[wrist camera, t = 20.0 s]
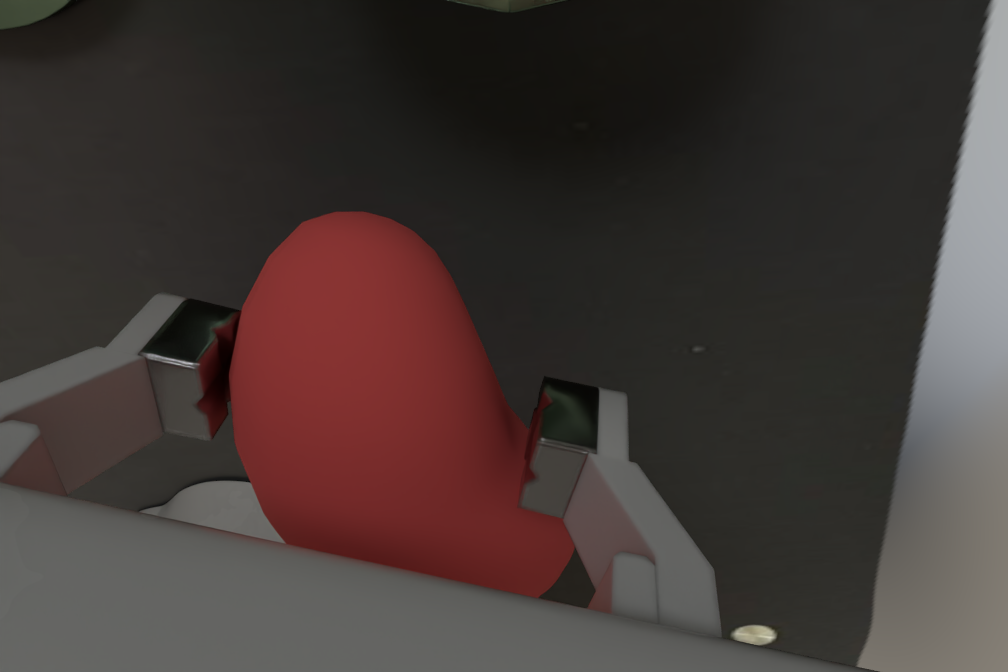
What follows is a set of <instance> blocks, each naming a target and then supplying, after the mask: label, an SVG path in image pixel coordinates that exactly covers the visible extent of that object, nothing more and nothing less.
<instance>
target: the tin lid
mask: <svg viewBox="0 0 1008 672" xmlns="http://www.w3.org/2000/svg"><path fill="white" fill-rule="evenodd" d="M75 1H76V0H0V29H11V28H17V27H23V26H28V25H31V24H33V23H36V22H38V21H41V20H44V19H46V18H49V17H51V16H54V15H56V14H58V13H59V12H61V11H63V10H64V9H66V8H67V7H69V6H70V5H72V4H73V3H74V2H75Z"/></svg>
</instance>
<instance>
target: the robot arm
mask: <svg viewBox="0 0 1008 672" xmlns="http://www.w3.org/2000/svg"><path fill="white" fill-rule="evenodd" d="M240 316H241V310H237V309H233V308H228V307H224V306H220V305H216V304H212V303H208V302H204V301H199V300H195V299H191V298H190V299H188V298H184V297H180V296H176V295H172V294H168V293H164V292H162V293H160V294H157V295H155V296H153V298H152V299H151V300H150V301H149V302H148V303H147V304H146V305H145V306H144V307H143V308H142V309H141V310H140V311H139V312H138V314H137V315H136V316H135V317H134V318H133V319H132V320H131V321H130V322H129V323H128V324H127V325H126V326H125V327H124V328H123V330H122V331H121V332H120V333H119V334H118V335H117V336H116V337H115V338H114V339H113V340H112V341H111V342H110V343H109V344H108V346H107V347H106V348H102V347H94V348H91V349H89V350H86V351H83V352H81V353H78V354H75V355H73V356H70V357H67V358H65V359H62V360H59V361H57V362H54V363H51V364H49V365H46V366H43V367H41V368H38V369H35V370H33V371H30V372H28V373H25V374H22V375H20V376H17V377H14V378H12V379H9V380H6V381H4V382H1V383H0V672H878V671H874V670H869V669H864V668H860V667H855V666H850V665H846V664H841V663H837V662H832V661H827V660H823V659H818V658H813V657H809V656H804V655H800V654H795V653H790V652H786V651H781V650H776V649H772V648H767V647H763V646H758V645H753V644H749V643H744V642H739V641H735V640H730V639H726V638H722V631H721V623H720V615H719V607H718V599H717V590H716V582H715V574H714V569H713V568H712V566H711V565H710V563H709V562H708V561H707V559H706V558H705V557H704V555H703V554H702V552H701V551H700V550H699V548H698V547H697V546H696V544H695V543H694V541H693V540H692V539H691V537H690V536H689V534H688V533H687V532H686V530H685V529H684V528H683V526H682V525H681V523H680V522H679V521H678V519H677V518H676V517H675V515H674V514H673V512H672V511H671V510H670V508H669V507H668V506H667V504H666V503H665V501H664V500H663V499H662V497H661V496H660V494H659V493H658V492H657V490H656V489H655V488H654V486H653V485H652V483H651V482H650V481H649V479H648V478H647V477H646V475H645V474H644V472H643V471H642V470H641V468H640V467H639V466H638V464H637V463H633V462H629V439H628V397H627V395H626V393H625V392H620V391H615V390H610V389H605V388H600V387H598V388H597V387H594V386H589V385H584V384H579V383H574V382H570V381H565V380H560V379H555V378H550V377H546V376H544V378H543V381H542V384H541V387H540V391H539V397H538V404H537V407H536V408H535V409H534V412H533V416H532V420H531V424H530V428H529V432H528V437H527V442H526V449H525V455H524V459H525V460H526V462H525V466H524V470H523V473H522V477H521V483H520V491H519V498H518V506H517V508H521V509H526V510H530V511H534V512H538V513H542V514H546V515H550V516H554V517H558V518H563V523H564V525H565V527H566V529H567V531H568V533H569V535H570V537H571V539H572V541H573V544H574V546H575V548H576V550H577V552H578V554H579V556H580V558H581V560H582V563H583V565H584V567H585V569H586V571H587V573H588V575H589V577H590V579H591V582H592V584H593V586H594V588H595V590H596V592H595V594H594V596H593V598H592V600H591V602H590V604H589V606H588V608H582V607H577V606H573V605H568V604H563V603H559V602H554V601H550V600H545V599H540V598H536V597H531V596H526V595H522V594H517V593H513V592H508V591H503V590H499V589H494V588H489V587H485V586H480V585H475V584H471V583H466V582H461V581H457V580H452V579H447V578H443V577H438V576H433V575H429V574H424V573H419V572H415V571H410V570H405V569H401V568H396V567H391V566H387V565H382V564H378V563H373V562H368V561H364V560H359V559H354V558H350V557H345V556H340V555H336V554H331V553H326V552H322V551H317V550H313V549H308V548H303V547H299V546H294V545H289V544H286V543H285V542H284V540H283V539H282V538H281V537H280V536H279V534H278V533H277V532H276V530H275V529H274V528H273V526H272V525H271V524H270V522H269V521H268V519H267V518H266V516H265V514H264V513H263V511H262V508H261V506H260V504H259V501H258V499H257V496H256V494H255V492H254V489H253V487H252V484H251V483H249V482H241V481H211V482H204V483H199V484H196V485H193V486H190V487H188V488H185V489H183V490H182V491H180V492H179V493H177V494H176V495H175V496H174V497H173V498H172V499H171V500H170V501H169V502H168V503H166V504H164V505H163V506H158V507H153V508H148V509H144V510H141V511H139V512H137V511H132V510H127V509H123V508H118V507H113V506H109V505H104V504H100V503H95V502H90V501H86V500H81V499H76V498H72V497H68V495H67V494H69V493H70V492H72V491H74V490H75V489H77V488H78V487H80V486H82V485H83V484H85V483H86V482H88V481H90V480H91V479H93V478H95V477H96V476H98V475H99V474H101V473H103V472H104V471H106V470H107V469H109V468H111V467H112V466H114V465H116V464H117V463H119V462H120V461H122V460H124V459H125V458H127V457H128V456H130V455H132V454H133V453H135V452H136V451H138V450H140V449H141V448H143V447H145V446H146V445H148V444H149V443H151V442H153V441H154V440H156V439H157V438H159V437H161V436H162V435H163V432H164V433H170V434H175V435H180V436H186V437H191V438H196V439H202V440H207V441H212V439H213V437H214V436H215V434H216V433H217V431H218V430H219V428H220V426H221V425H222V423H223V422H224V420H225V419H226V417H227V415H228V408H227V402H229V401H231V396H230V384H229V370H230V365H231V360H232V356H233V351H234V346H235V341H236V336H237V331H238V326H239V321H240Z"/></svg>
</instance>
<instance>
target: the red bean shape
mask: <svg viewBox="0 0 1008 672" xmlns="http://www.w3.org/2000/svg"><path fill="white" fill-rule="evenodd" d="M229 384H230V396H231V407H232V419H233V430H234V441H235V444H236V448H237V451H238V453H239V456H240V458H241V460H242V463H243V465H244V468H245V470H246V472H247V475H248V477H249V480H250V482H251V484H252V487H253V489H254V492H255V494H256V496H257V499H258V501H259V504H260V506H261V508H262V511H263V513H264V514H265V516H266V518H267V519H268V521H269V522H270V524H271V525H272V526H273V528H274V529H275V530H276V532H277V533H278V534H279V536H280V537H281V538H282V539H283V540H284V542H285V543H286V544H289V545H294V546H299V547H303V548H308V549H313V550H317V551H322V552H326V553H331V554H336V555H340V556H345V557H350V558H354V559H359V560H364V561H368V562H373V563H378V564H382V565H387V566H391V567H396V568H401V569H405V570H410V571H415V572H419V573H424V574H429V575H433V576H438V577H443V578H447V579H452V580H457V581H461V582H466V583H471V584H475V585H480V586H485V587H489V588H494V589H499V590H503V591H508V592H513V593H517V594H522V595H526V596H531V597H536V598H538V597H539V596H540V595H542V594H543V593H544V592H546V591H547V590H548V589H550V588H551V586H552V585H553V584H554V583H555V582H556V581H557V579H558V578H559V576H560V575H561V573H562V571H563V570H564V568H565V567H566V565H567V563H568V562H569V560H570V558H571V556H572V554H573V551H574V548H575V546H574V544H573V541H572V539H571V537H570V535H569V533H568V531H567V529H566V527H565V525H564V523H563V518H558V517H554V516H550V515H546V514H542V513H538V512H534V511H530V510H526V509H521V508H517V506H518V498H519V491H520V483H521V477H522V473H523V470H524V466H525V462H526V460H525V459H524V455H525V449H526V442H527V437H528V432H529V430H528V429H527V427H526V426H525V425H524V424H523V422H522V421H521V420H520V419H519V417H518V416H517V415H516V414H515V413H514V411H513V410H512V409H511V408H510V407H509V405H508V404H507V402H506V400H505V397H504V395H503V393H502V390H501V388H500V385H499V383H498V380H497V378H496V375H495V373H494V370H493V368H492V366H491V364H490V361H489V359H488V357H487V354H486V352H485V350H484V347H483V345H482V343H481V341H480V338H479V336H478V334H477V331H476V329H475V327H474V325H473V322H472V320H471V318H470V315H469V313H468V311H467V308H466V306H465V304H464V302H463V300H462V298H461V296H460V293H459V291H458V289H457V287H456V285H455V283H454V281H453V279H452V277H451V275H450V274H449V272H448V270H447V269H446V267H445V266H444V264H443V263H442V261H441V260H440V258H439V257H438V255H437V253H436V252H435V251H434V250H433V249H432V248H431V247H430V246H429V245H428V244H427V243H426V242H425V241H424V240H423V239H422V238H421V237H420V236H418V235H417V234H416V233H415V232H414V231H413V230H411V229H409V228H407V227H405V226H403V225H401V224H400V223H398V222H396V221H394V220H392V219H390V218H386V217H383V216H379V215H375V214H371V213H368V212H332V213H329V214H326V215H323V216H320V217H317V218H314V219H310V220H307V221H304V222H302V223H301V224H300V225H299V226H298V227H297V228H296V229H295V230H294V231H293V232H292V233H291V234H290V235H289V236H288V237H287V238H286V239H285V240H284V241H283V242H282V244H281V245H280V246H279V247H278V248H277V249H276V250H275V251H274V252H273V253H272V254H271V255H270V256H269V257H268V259H267V261H266V263H265V265H264V267H263V269H262V270H261V272H260V274H259V276H258V278H257V280H256V282H255V284H254V286H253V288H252V289H251V291H250V293H249V295H248V297H247V299H246V301H245V303H244V305H243V307H242V311H241V316H240V321H239V326H238V331H237V336H236V341H235V346H234V351H233V356H232V360H231V365H230V370H229Z"/></svg>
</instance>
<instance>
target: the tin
mask: <svg viewBox="0 0 1008 672" xmlns="http://www.w3.org/2000/svg"><path fill="white" fill-rule="evenodd" d="M446 1H450V2H455V3H460V4H465V5H470V6H474V7H479V8H484V9H489V10H494V11H498V12H503V13H509V12H511V13H516V12H520V11H525V10H529V9H534V8H538V7H543V6H547V5H551V4H556V3H560V2H565V1H569V0H446Z"/></svg>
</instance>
